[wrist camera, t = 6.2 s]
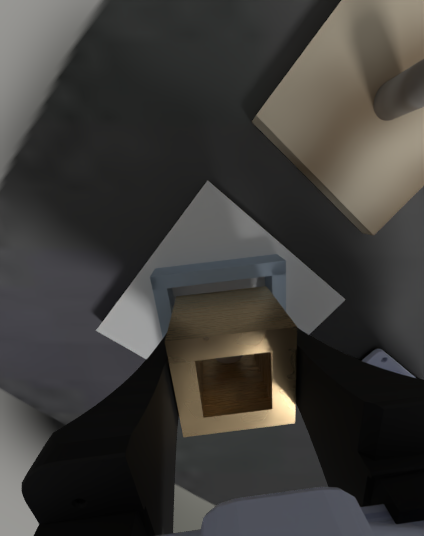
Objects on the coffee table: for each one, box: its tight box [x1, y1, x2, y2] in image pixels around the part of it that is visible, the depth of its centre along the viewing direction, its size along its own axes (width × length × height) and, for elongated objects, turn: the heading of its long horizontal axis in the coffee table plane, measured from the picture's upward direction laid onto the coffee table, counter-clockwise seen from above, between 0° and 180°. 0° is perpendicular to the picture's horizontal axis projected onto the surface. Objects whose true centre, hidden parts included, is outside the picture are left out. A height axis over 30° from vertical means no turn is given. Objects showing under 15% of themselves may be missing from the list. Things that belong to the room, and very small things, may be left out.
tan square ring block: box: [165, 286, 297, 437], centre depth 11 cm, size 5×5×4 cm
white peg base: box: [96, 181, 345, 364], centre depth 13 cm, size 12×12×4 cm
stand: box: [252, 0, 424, 235], centre depth 10 cm, size 10×10×4 cm
